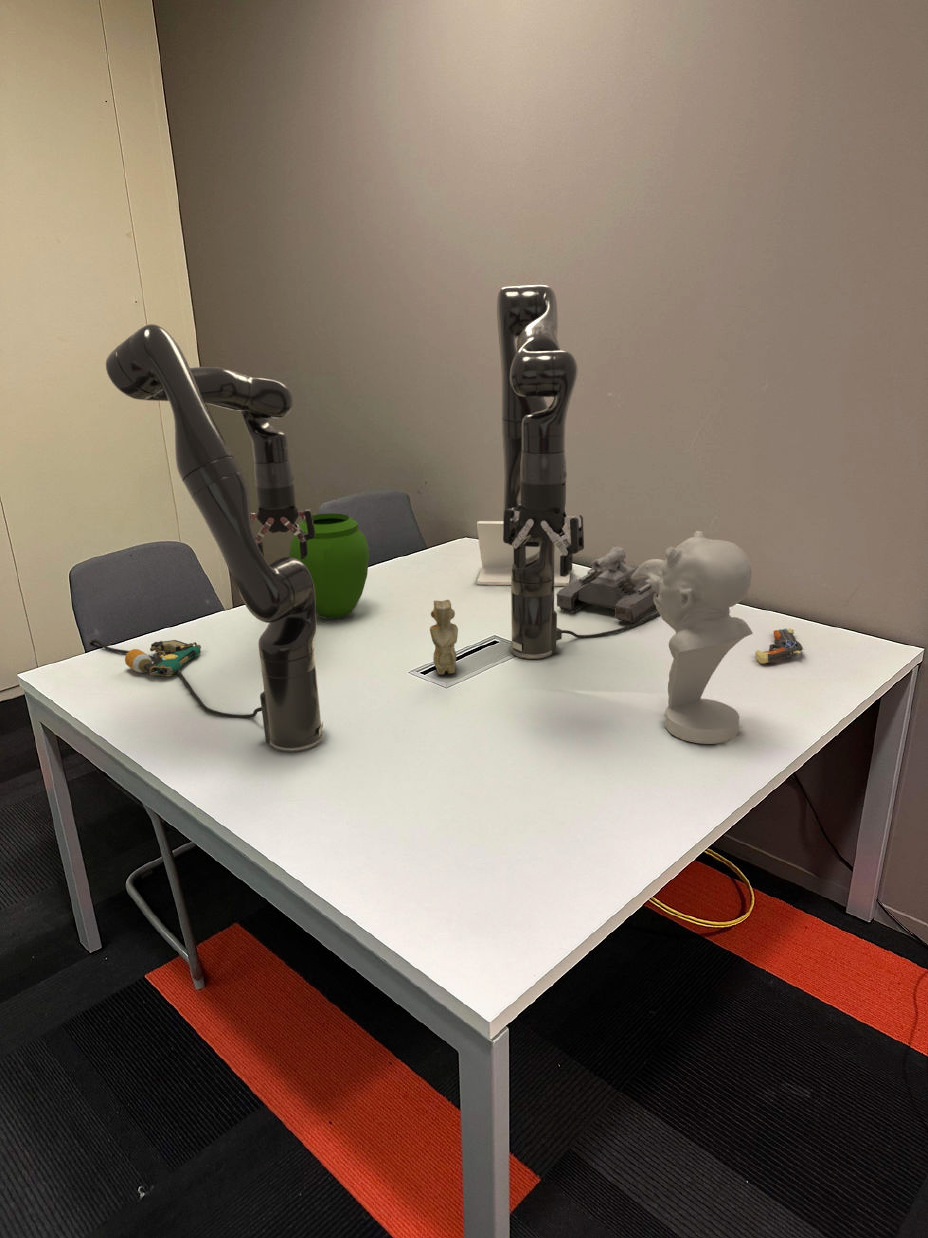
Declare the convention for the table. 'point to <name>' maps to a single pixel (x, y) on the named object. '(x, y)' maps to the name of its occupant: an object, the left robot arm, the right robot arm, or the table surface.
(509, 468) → the right robot arm
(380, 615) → the table surface
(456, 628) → the sculpture
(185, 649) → the spray gun
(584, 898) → the table surface
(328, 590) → the vase
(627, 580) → the toy
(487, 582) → the tablet stand
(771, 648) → the toy gun
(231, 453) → the left robot arm
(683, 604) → the bust sculpture
